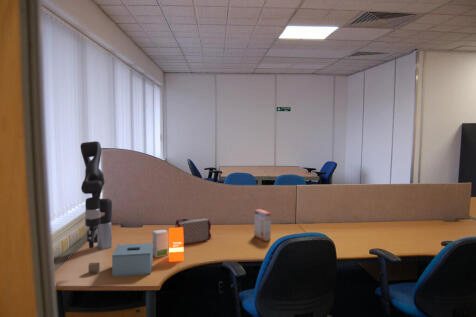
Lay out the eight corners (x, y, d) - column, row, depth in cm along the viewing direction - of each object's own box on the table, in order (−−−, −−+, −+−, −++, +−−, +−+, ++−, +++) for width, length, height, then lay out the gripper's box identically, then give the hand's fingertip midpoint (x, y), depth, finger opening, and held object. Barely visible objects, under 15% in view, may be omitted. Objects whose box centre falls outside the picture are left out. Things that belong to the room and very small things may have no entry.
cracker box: (270, 240, 231) (271, 212, 229) (264, 241, 228) (264, 213, 226) (260, 234, 243) (261, 208, 242) (253, 235, 240) (254, 209, 239)
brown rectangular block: (90, 271, 175) (89, 263, 175) (99, 271, 176) (99, 262, 176) (88, 274, 172) (88, 265, 172) (98, 273, 173) (98, 264, 173)
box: (117, 264, 185) (117, 244, 184) (152, 262, 189) (152, 243, 188) (112, 276, 170) (112, 255, 169) (150, 274, 174) (150, 253, 173)
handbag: (208, 235, 239) (208, 213, 238) (214, 240, 230) (214, 216, 229) (173, 241, 225) (173, 218, 224) (178, 246, 216) (178, 221, 215)
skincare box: (155, 258, 196) (155, 233, 194) (152, 254, 201) (151, 231, 200) (168, 255, 201) (168, 231, 199) (164, 251, 206) (164, 228, 205)
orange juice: (168, 256, 198) (168, 226, 196) (182, 255, 200) (182, 225, 198) (169, 261, 190) (168, 229, 188) (183, 260, 192) (183, 229, 190)
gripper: (89, 213, 178) (89, 241, 179) (81, 220, 164) (82, 250, 165) (103, 213, 179) (103, 240, 181) (96, 219, 165) (97, 249, 167)
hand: (93, 245), depth 173 cm, fingers open, 8 cm apart
